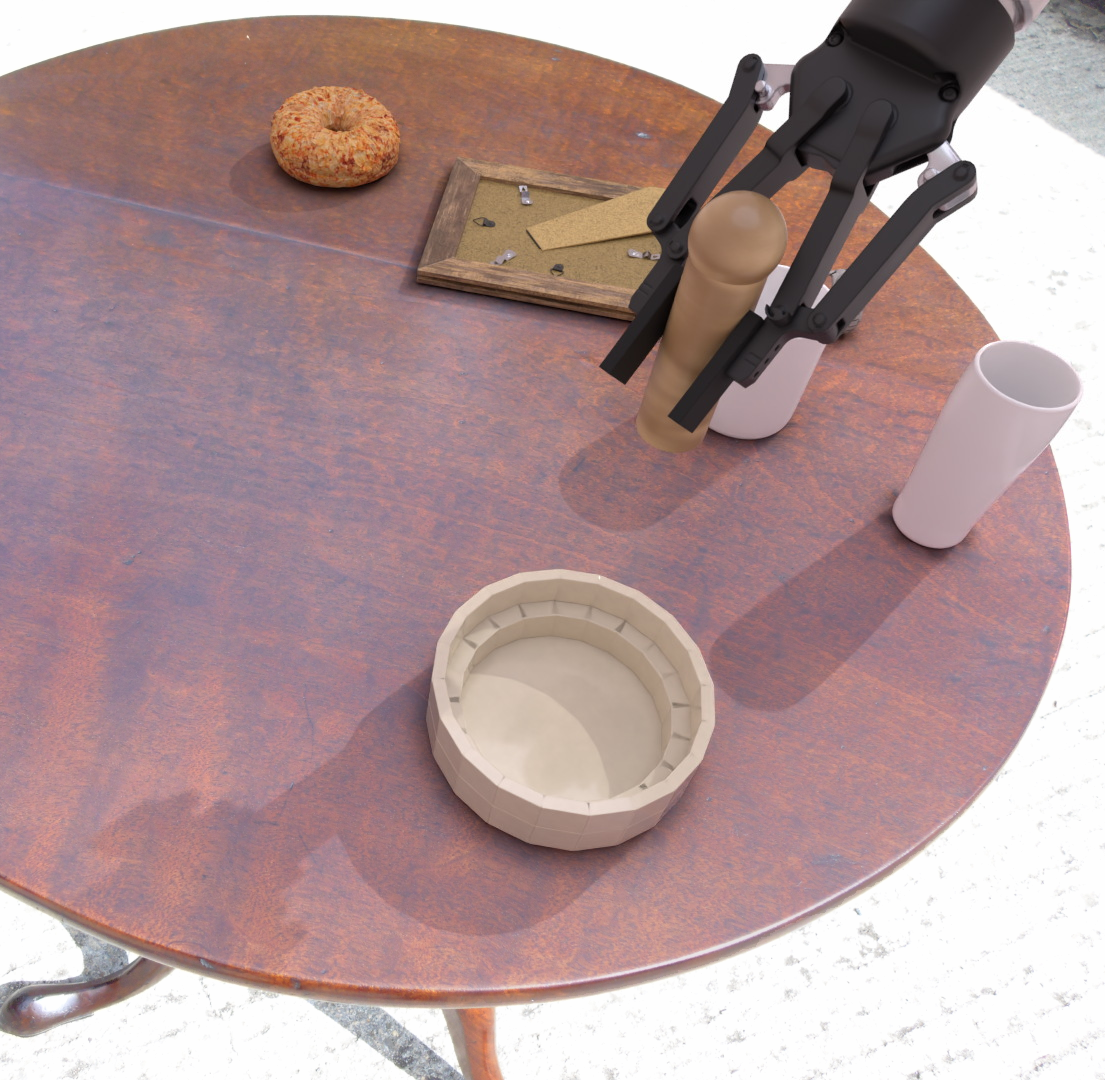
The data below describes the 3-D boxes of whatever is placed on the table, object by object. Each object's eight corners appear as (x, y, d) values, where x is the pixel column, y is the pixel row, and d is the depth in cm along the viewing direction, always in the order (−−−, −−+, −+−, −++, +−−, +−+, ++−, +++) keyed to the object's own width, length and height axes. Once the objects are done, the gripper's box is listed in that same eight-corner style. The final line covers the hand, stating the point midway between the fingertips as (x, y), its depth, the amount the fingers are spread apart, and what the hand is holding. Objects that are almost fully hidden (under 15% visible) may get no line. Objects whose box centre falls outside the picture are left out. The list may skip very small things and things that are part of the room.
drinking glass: (885, 478, 82) (977, 326, 70) (976, 507, 81) (1086, 356, 69) (873, 541, 78) (970, 391, 66) (969, 572, 77) (1085, 424, 65)
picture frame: (696, 210, 103) (455, 170, 106) (701, 194, 102) (457, 153, 104) (685, 333, 92) (416, 284, 94) (691, 316, 90) (417, 267, 93)
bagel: (253, 184, 103) (250, 136, 99) (292, 112, 111) (290, 66, 107) (383, 206, 101) (385, 159, 98) (413, 132, 110) (416, 85, 106)
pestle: (719, 417, 63) (811, 189, 51) (696, 468, 60) (788, 240, 48) (644, 390, 64) (717, 161, 52) (619, 439, 61) (690, 209, 49)
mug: (627, 396, 87) (659, 290, 78) (746, 357, 90) (788, 252, 82) (689, 469, 82) (730, 364, 73) (812, 425, 85) (864, 320, 77)
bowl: (721, 681, 70) (747, 635, 66) (640, 903, 61) (664, 866, 56) (490, 582, 74) (500, 532, 70) (380, 775, 65) (384, 732, 61)
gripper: (1116, 108, 50) (790, 503, 56) (814, -27, 58) (554, 334, 64) (1132, 29, 44) (761, 485, 50) (789, -111, 52) (503, 298, 57)
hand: (646, 399), depth 57 cm, fingers closed on pestle, 4 cm apart
